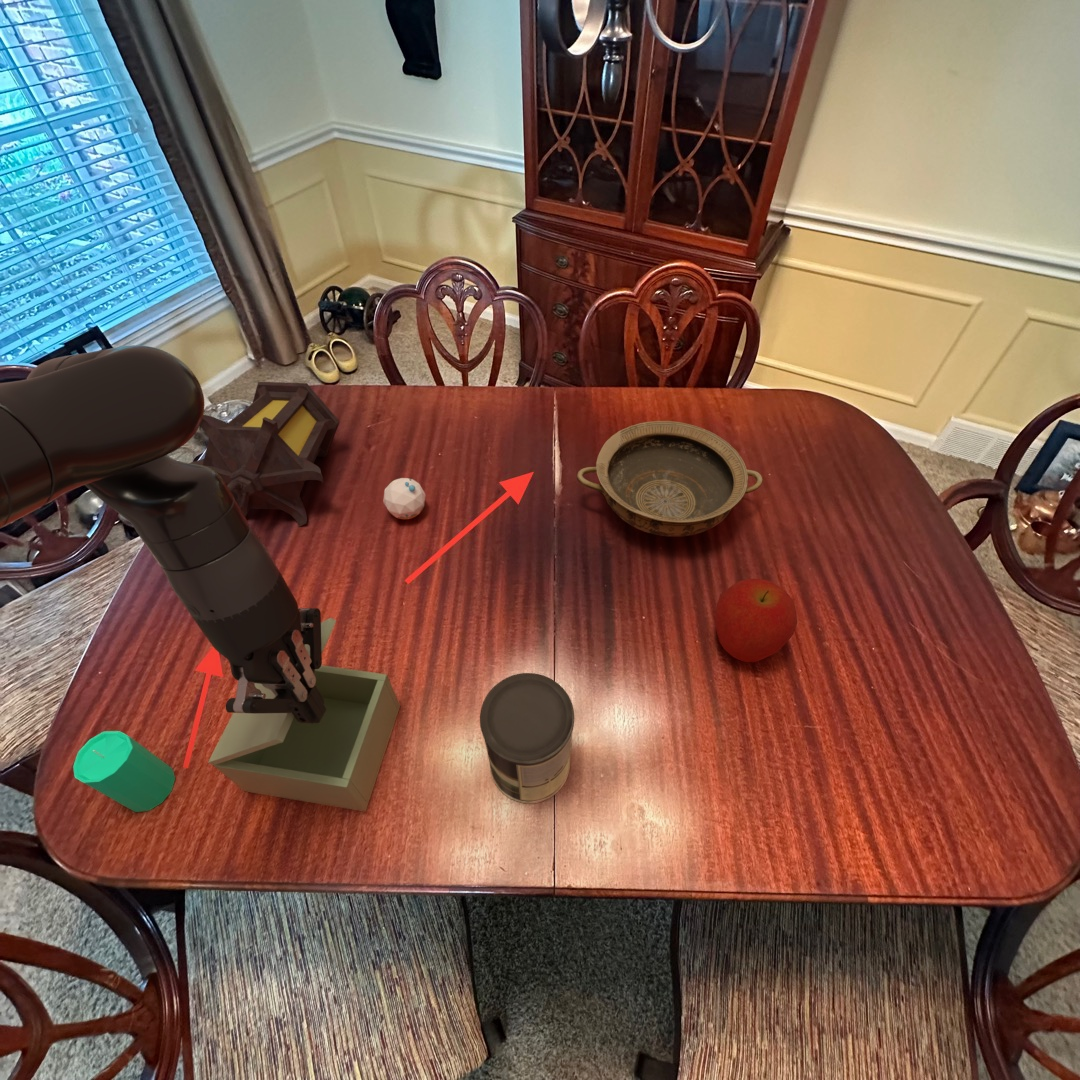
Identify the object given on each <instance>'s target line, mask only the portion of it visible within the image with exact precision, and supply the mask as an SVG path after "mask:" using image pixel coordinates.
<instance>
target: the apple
mask: <svg viewBox="0 0 1080 1080" xmlns="http://www.w3.org/2000/svg"><path fill="white" fill-rule="evenodd" d="M713 620H714V624H715V625H714V626H715V630H716V635H717V639H718V643H719V644H720V645H721V646H722V648H723V650H724V651H725V652H727V654H729V655H730V656H731V657H732V658H734V659H736V660H738V661H741V662H743V663H744V662H745V663H756V662H759V661H762V660H763V659H766V658H768V657H771V656H773V655H774V654H776V653H777V652H778V651H780V650H781V649H782V648H783V647H784V646H785V645H786V644H787V642H789V640H790V639H791V638H792V637H793V636H794V634H795V631H796V629H797V625H798V616H797V609H796V605H795V601H794V599H793V598H792V596H791V595H790V594H789V593H788V592H787V590H786V589H784V588H783V587H781V586H779V585H778V584H777V583H775V582H773V581H769V580H766V579H762V578H745V579H742V580H738V581H736V582H735V583H733V584H732V585H731V586H729V587H728V588H727V589H726V590H724V591H723V592H722V593H720V595H719V596H718V600H717V603H716V606H715V612H714V619H713Z"/></svg>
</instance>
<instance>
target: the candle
mask: <svg viewBox="0 0 1080 1080" xmlns="http://www.w3.org/2000/svg"><path fill="white" fill-rule="evenodd" d="M72 768H73V775H74V778H75V779H76V780H78V781H80V782H81V783H83V784H85V785H86V786H88V787H90V788H92V789H94V790H95V791H97V792H98V793H101V794H102V795H104V796H106V797H108V798H109V799H111V800H113V801H114V802H117V803H118V804H120V805H122V806H123V807H125V808H127V809H129V810H130V811H132V812H134V813H141V812H142V813H143V812H149V811H151V810H153V809H154V808H156V807H158V806H159V805H161V804H162V803H164V801H165V800H166V799H167V797H168V796H169V795H170V794H171V792H172V791H173V788H174V784H175V781H176V776H175V773H174V770H173V768H172V767H171V766H170V765H169V764H167V763H166V762H165V761H164V760H162V759H160V758H159V757H158V756H156V755H155V754H154V753H152V752H151V751H150V750H149V749H147V748H146V747H145V746H143V745H142V744H141V743H139V742H138V741H136V740H135V739H134V738H133V737H131V736H129V735H128V734H126V733H124V732H122V731H120V730H106V731H105V730H103V731H102V732H100V733H98V734H96V735H95V736H93V737H92V738H90V739H89V740H87V741H86V743H85V744H84V745H83V746H82V747H81V748H80V749H79V750H78V751H77V754H76V757H75V760H74V763H73V766H72Z"/></svg>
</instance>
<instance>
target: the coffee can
mask: <svg viewBox="0 0 1080 1080" xmlns="http://www.w3.org/2000/svg"><path fill="white" fill-rule="evenodd" d="M575 717H576V716H575V709H574V705H573V702H572V699H571V697H570V696H569V694H568V693H567V691H566V690H565V689H564V688H563V687H562V686H561V685H560V684H559V683H558V682H557V681H555V680H554V679H552V678H551V677H549V676H546V675H544V674H541V673H540V674H539V673H534V672H522V673H516V674H513V675H510V676H508V677H505V678H503V679H502V680H501V681H499V682H497V684H495V685H494V686H492V688H491V689H490V690H489V692H488V693H487V695H486V696H485V697H484V700H483V702H482V704H481V707H480V713H479V725H480V726H479V727H480V731H481V734H482V737H483V739H484V743H485V744H484V745H485V749H486V752H487V753H486V754H487V757H488V761H489V768H490V775H491V778H492V780H493V782H494V784H495V786H496V787H497V789H498V790H499V791H500V793H502V794H503V795H504V796H506V797H507V798H508V799H511V800H512V801H515V802H517V803H520V804H538V803H541V802H545V801H547V800H549V799H550V798H552V797H554V796H555V795H557V793H558V792H559V791H560V790H561V789H562V788H563V787H564V785H565V784H566V781H567V779H568V777H569V774H570V770H571V752H572V751H571V750H572V740H573V739H572V737H573V731H574V727H575V719H576V718H575Z"/></svg>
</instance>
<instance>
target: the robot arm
mask: <svg viewBox="0 0 1080 1080" xmlns="http://www.w3.org/2000/svg"><path fill="white" fill-rule="evenodd" d="M202 388H203V387H202V385H201V383H200V381H199V379H198V378H197V377H196V375H195V373H194V371H193V370H191V368H190V367H189V366H188V365H187V364H186V363H185V362H183V360H181V359H180V358H178V357H176V356H175V355H173V354H171V353H170V352H167V351H165V350H163V349H161V348H157V347H153V346H148V345H140V344H138V345H137V344H136V345H135V344H133V345H123V346H117V347H112V348H105V349H100V350H95V351H89V352H88V351H87V352H83V353H76V354H71V355H64V356H59V357H55V358H51V359H49V360H46V361H44V362H42V363H40V364H38V365H37V366H36V367H34V368H32V370H31V372H29V374H28V376H27V377H26V379H22V380H15V381H8V382H7V381H6V382H0V529H2V528H4V527H7V526H9V525H10V524H12V523H14V522H16V521H18V520H19V519H21V518H24V517H26V516H27V515H29V514H31V513H33V512H35V511H36V510H39V509H41V508H43V507H45V506H47V505H48V504H50V503H51V502H53V501H55V500H56V499H58V498H59V497H60V496H63V495H64V494H67V493H68V492H70V491H73V490H75V489H78V488H81V487H82V486H85V487H86V488H87V489H88V490H89V491H90V492H92V493H93V494H94V495H95V496H96V497H98V498H99V499H100V500H101V501H102V502H103V503H104V504H106V505H107V506H108V507H110V508H111V509H112V510H114V511H115V512H116V513H118V514H119V515H120V517H121V516H122V517H123V518H124V519H125V520H126V521H127V522H128V523H129V524H130V525H131V526H132V527H133V529H134V530H135V532H136V533H137V535H138V536H139V539H141V541H142V542H143V544H144V545H145V547H146V548H147V550H148V551H149V553H150V554H151V555H152V556H153V558H154V560H155V561H156V562H157V564H158V565H159V567H161V570H162V572H163V573H164V575H165V577H166V579H167V581H168V583H169V586H170V587H171V589H172V591H173V592H174V594H175V595H176V597H177V598H178V600H179V601H180V602H181V604H182V605H183V607H184V608H185V610H186V611H187V612H188V614H189V615H190V616H191V618H192V619H193V621H194V622H195V624H196V625H197V626H198V628H199V629H200V631H201V632H202V633H203V635H204V636H205V638H206V639H207V640H208V642H209V643H210V644H211V646H212V647H213V648H214V650H216V652H217V653H219V654H220V655H221V656H223V657H224V658H225V659H226V660H227V661H228V663H229V666H230V672H231V675H232V677H233V678H234V680H236V681H237V687H236V693H235V697H230V698H229V699H227V701H226V703H225V710H226V712H227V713H229V714H231V713H232V714H233V713H253V714H256V713H292V714H293V715H294V717H295V718H296V720H297V721H298V722H300V723H312V724H313V723H319V722H320V721H321V719H322V717H323V715H324V713H325V712H326V707H325V706H324V699H323V697H322V695H321V694H320V693H319V690H318V689H317V687H316V686H315V683H316V678H315V675H314V672H315V669H319V668H320V667H321V665H323V664H322V663H323V661H322V660H323V652H322V649H321V622H322V614H321V613H322V612H321V609H320V608H315V607H313V608H312V607H302V608H299V605H298V602H297V599H296V598H295V596H294V594H293V592H292V591H291V589H290V587H289V585H288V584H287V581H286V580H285V578H284V577H283V574H282V573H281V571H280V569H279V568H278V565H277V564H276V563H275V561H274V559H273V557H272V555H271V554H270V552H269V550H268V547H266V544H265V543H264V542H263V540H262V539H261V537H260V536H259V535H258V534H257V533H256V531H255V530H254V529H253V527H252V526H251V524H250V523H249V521H248V519H247V517H246V518H245V516H244V514H243V512H242V511H241V509H240V507H239V505H238V504H237V502H236V500H235V498H234V497H233V495H232V493H231V491H230V489H229V488H228V486H227V485H226V483H225V481H224V480H223V479H222V477H221V476H220V475H219V474H218V473H217V472H216V471H214V470H213V469H211V468H208V467H206V466H202V465H197V464H190V463H191V462H184V461H180V460H178V459H175V458H173V457H171V456H169V455H170V454H172V453H173V452H175V451H177V450H178V449H180V448H182V447H183V446H185V445H186V444H187V443H188V442H189V441H190V440H191V439H192V438H193V437H194V436H195V434H196V433H197V431H198V430H199V428H200V424H201V421H202V418H203V415H205V407H206V406H205V396H204V391H203V389H202ZM305 644H308V645H309V646H310V656H309V654H308V652H307V650H306V648H305V646H304V645H305ZM255 683H259V684H262V685H263V686H264V687H265V688H268V689H270V690H271V691H272V692H273V693H274V695H275V696H276V697H275V698H273V699H265V698H266V694H264V693H261V691H260V690H259V689H257V688H256V687H255Z"/></svg>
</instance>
